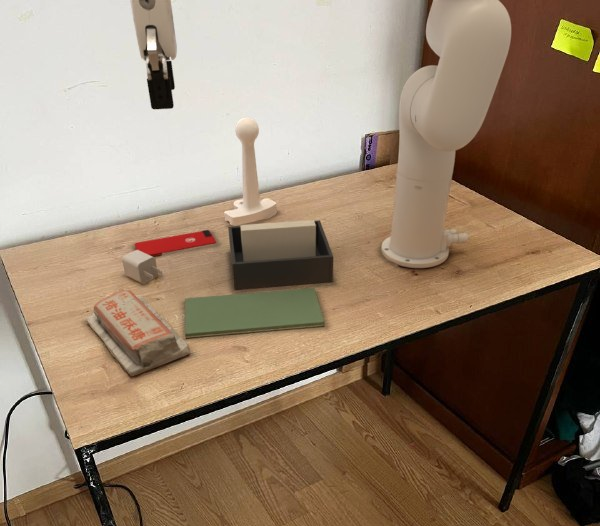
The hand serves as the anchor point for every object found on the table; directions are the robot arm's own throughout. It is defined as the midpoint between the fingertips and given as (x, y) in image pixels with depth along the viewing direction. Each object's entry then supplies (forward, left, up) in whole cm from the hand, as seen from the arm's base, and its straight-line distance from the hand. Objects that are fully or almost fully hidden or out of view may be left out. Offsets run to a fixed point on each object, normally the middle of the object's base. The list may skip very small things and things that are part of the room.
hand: (163, 98), depth 93 cm
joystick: (-12, -21, -30) cm, 38 cm away
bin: (-16, +2, -29) cm, 34 cm away
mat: (-10, +16, -29) cm, 35 cm away
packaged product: (+8, +20, -30) cm, 37 cm away
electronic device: (+3, -10, -29) cm, 31 cm away
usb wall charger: (+8, +2, -30) cm, 30 cm away
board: (-16, +2, -29) cm, 33 cm away
